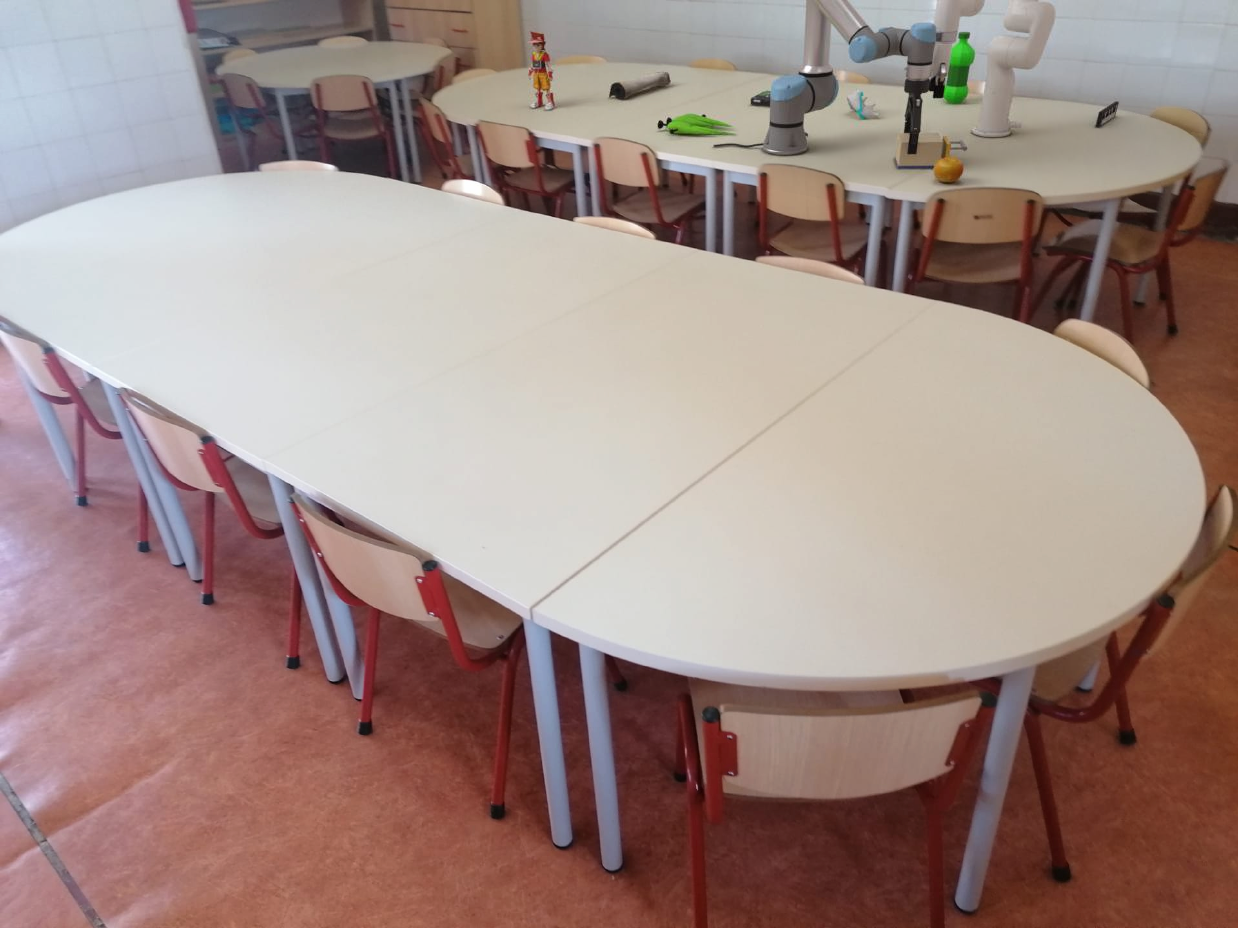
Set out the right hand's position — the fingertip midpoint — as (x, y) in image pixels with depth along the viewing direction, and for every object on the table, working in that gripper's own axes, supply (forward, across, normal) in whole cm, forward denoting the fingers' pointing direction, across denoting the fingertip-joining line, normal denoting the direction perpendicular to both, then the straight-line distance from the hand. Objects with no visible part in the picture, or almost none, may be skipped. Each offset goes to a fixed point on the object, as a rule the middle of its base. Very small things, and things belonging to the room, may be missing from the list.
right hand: (935, 94), depth 289 cm
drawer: (+18, +9, +2) cm, 21 cm away
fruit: (+19, +28, +3) cm, 34 cm away
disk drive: (+19, -76, -54) cm, 95 cm away
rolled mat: (+19, -98, -111) cm, 149 cm away
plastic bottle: (+18, -72, +19) cm, 76 cm away
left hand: (+14, +9, -7) cm, 19 cm away
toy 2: (+20, -33, -79) cm, 88 cm away
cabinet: (+19, +9, -4) cm, 22 cm away
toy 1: (+20, -73, -150) cm, 168 cm away
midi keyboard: (+18, -40, +66) cm, 79 cm away
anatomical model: (+19, -54, -18) cm, 60 cm away
